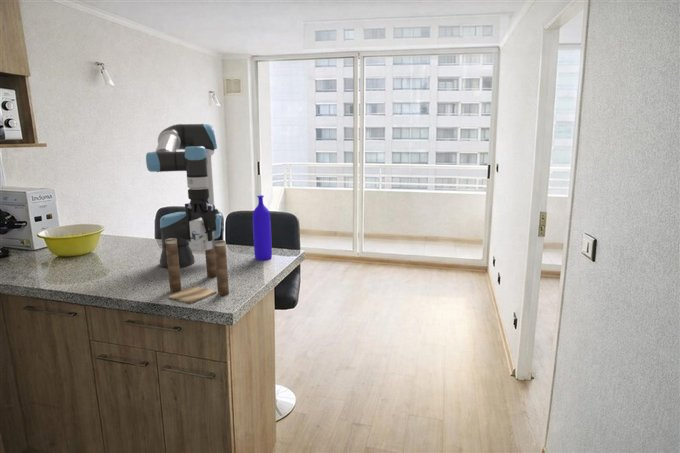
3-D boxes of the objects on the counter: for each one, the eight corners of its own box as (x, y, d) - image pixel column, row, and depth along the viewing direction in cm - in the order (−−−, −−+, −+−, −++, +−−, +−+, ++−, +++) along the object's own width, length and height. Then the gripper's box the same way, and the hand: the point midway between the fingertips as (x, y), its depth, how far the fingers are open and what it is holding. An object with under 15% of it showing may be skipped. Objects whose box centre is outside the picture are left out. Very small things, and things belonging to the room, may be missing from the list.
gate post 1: (167, 291, 168) (162, 240, 164) (176, 287, 171) (171, 237, 167) (175, 293, 166) (170, 241, 162) (183, 289, 169) (179, 238, 165)
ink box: (203, 246, 175) (200, 217, 173) (214, 246, 174) (212, 217, 172) (191, 251, 167) (188, 221, 165) (203, 252, 166) (200, 221, 163)
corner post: (215, 294, 164) (211, 242, 159) (223, 291, 167) (219, 239, 163) (223, 296, 162) (220, 243, 157) (231, 293, 165) (228, 241, 161)
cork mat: (168, 298, 161) (167, 296, 161) (193, 288, 171) (193, 286, 171) (191, 303, 155) (191, 301, 155) (216, 293, 165) (216, 291, 165)
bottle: (255, 256, 215) (252, 194, 208) (272, 255, 215) (270, 194, 209) (253, 260, 207) (250, 197, 200) (271, 260, 207) (268, 196, 201)
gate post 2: (204, 277, 184) (201, 230, 180) (212, 274, 188) (208, 228, 183) (212, 278, 182) (208, 231, 178) (219, 275, 186) (215, 229, 182)
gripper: (172, 188, 167) (177, 247, 172) (209, 190, 158) (213, 253, 163) (188, 186, 174) (193, 243, 178) (224, 188, 164) (228, 248, 169)
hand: (202, 248), depth 170 cm, fingers closed on ink box, 6 cm apart
